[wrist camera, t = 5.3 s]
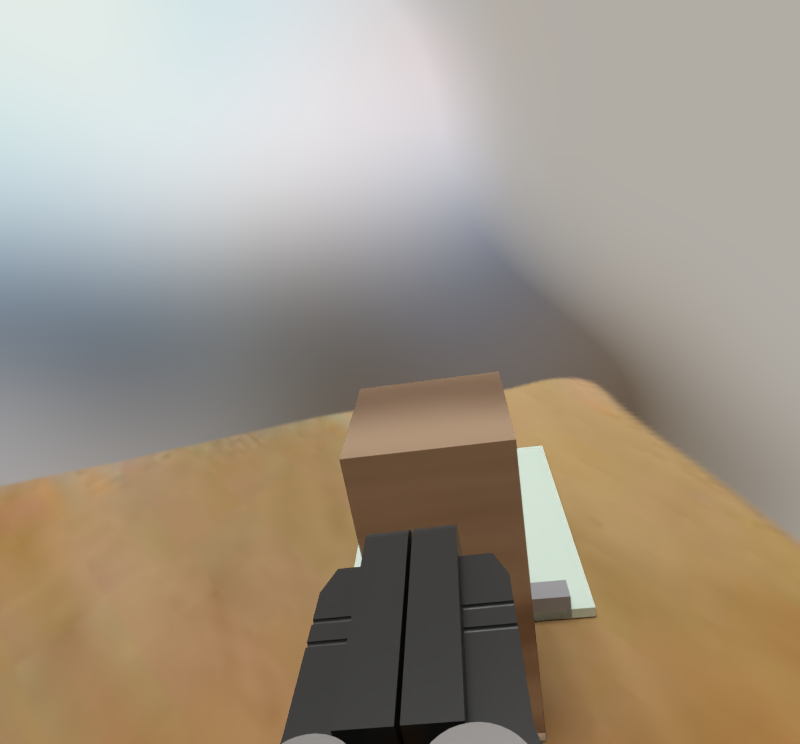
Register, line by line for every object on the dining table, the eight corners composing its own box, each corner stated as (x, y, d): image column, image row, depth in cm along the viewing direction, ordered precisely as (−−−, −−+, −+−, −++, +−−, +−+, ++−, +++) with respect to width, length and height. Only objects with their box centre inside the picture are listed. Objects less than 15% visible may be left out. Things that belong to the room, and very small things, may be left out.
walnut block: (546, 740, 21) (515, 439, 16) (405, 748, 21) (339, 459, 17) (526, 629, 25) (498, 371, 21) (410, 638, 26) (360, 389, 22)
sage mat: (595, 616, 25) (594, 594, 25) (344, 635, 27) (339, 615, 26) (542, 452, 38) (541, 436, 38) (375, 470, 40) (371, 455, 39)
